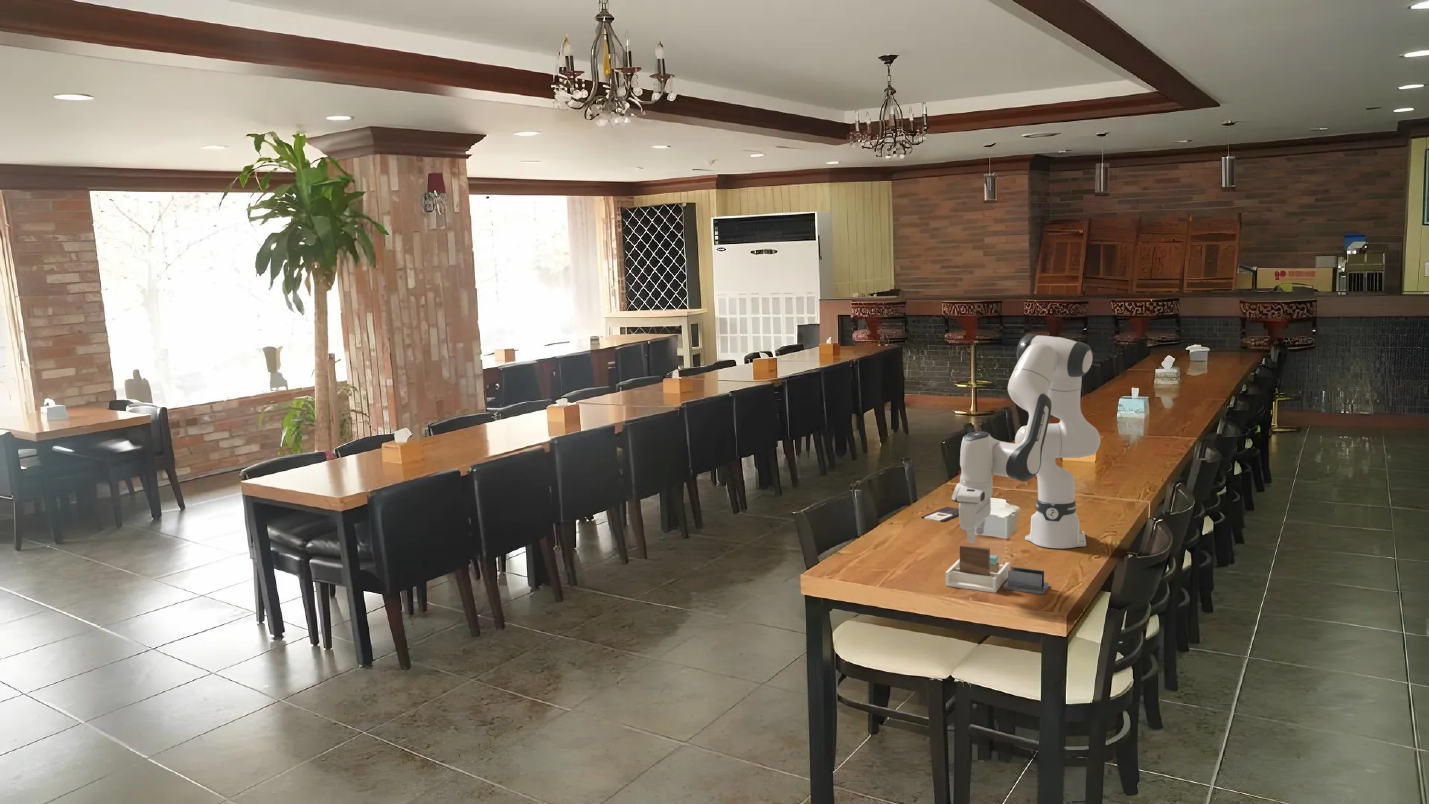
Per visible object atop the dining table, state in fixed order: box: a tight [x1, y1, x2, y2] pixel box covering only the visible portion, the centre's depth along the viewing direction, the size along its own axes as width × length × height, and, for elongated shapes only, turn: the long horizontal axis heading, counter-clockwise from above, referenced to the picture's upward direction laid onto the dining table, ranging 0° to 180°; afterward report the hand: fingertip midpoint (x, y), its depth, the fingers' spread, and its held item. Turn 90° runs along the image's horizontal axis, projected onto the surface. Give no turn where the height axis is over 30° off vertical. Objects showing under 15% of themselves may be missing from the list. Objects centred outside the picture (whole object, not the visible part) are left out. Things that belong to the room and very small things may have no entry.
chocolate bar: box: [920, 506, 959, 523], centre depth 349 cm, size 9×1×18 cm
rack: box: [945, 557, 1010, 594], centre depth 277 cm, size 16×14×4 cm
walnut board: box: [959, 544, 991, 576], centre depth 273 cm, size 2×8×10 cm, turn 60°
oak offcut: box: [990, 562, 1000, 573], centre depth 281 cm, size 3×9×3 cm, turn 60°
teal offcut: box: [990, 554, 999, 565], centre depth 281 cm, size 3×7×2 cm, turn 60°
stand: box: [1002, 566, 1050, 595], centre depth 270 cm, size 8×11×5 cm
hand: (975, 538), depth 272 cm, fingers open, 8 cm apart
